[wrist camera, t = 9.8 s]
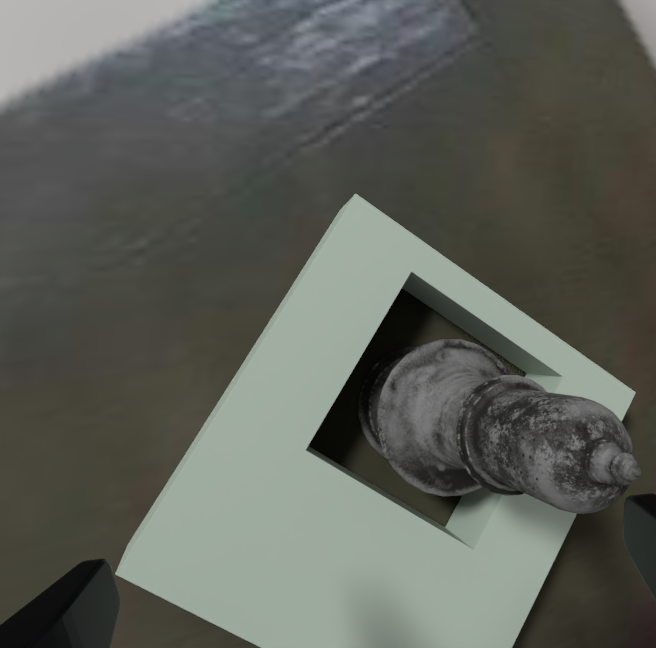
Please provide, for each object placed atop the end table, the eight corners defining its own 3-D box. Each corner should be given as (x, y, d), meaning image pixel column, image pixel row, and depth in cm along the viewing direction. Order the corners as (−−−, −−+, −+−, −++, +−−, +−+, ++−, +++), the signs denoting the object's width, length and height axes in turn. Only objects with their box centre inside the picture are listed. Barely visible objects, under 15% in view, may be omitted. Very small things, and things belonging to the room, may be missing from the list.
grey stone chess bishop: (425, 313, 22) (656, 279, 11) (498, 415, 23) (791, 487, 11) (324, 395, 21) (460, 456, 10) (403, 500, 22) (622, 679, 10)
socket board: (434, 704, 22) (462, 748, 19) (127, 545, 19) (115, 574, 17) (593, 387, 24) (635, 392, 22) (339, 210, 22) (355, 193, 19)
